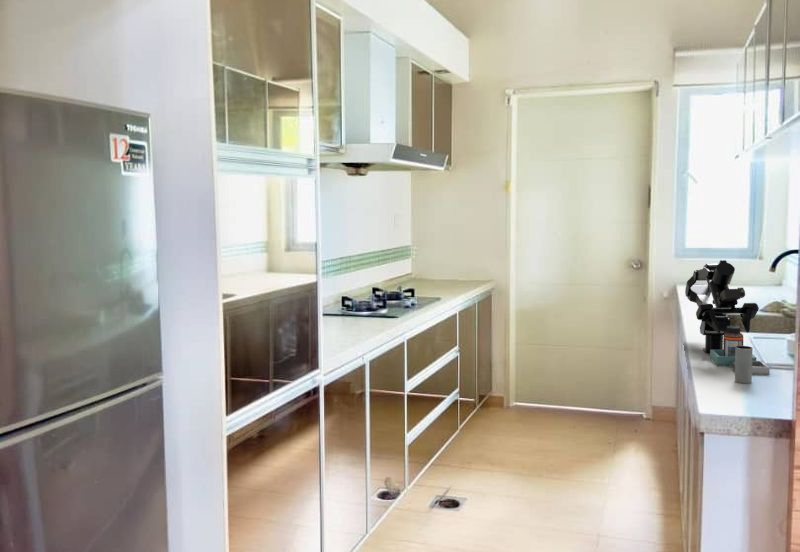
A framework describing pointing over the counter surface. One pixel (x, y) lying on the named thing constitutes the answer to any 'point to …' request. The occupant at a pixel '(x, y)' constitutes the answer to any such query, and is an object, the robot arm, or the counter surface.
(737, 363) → the grey hollow cylinder
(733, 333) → the supplement bottle
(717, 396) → the counter surface
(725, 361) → the bin
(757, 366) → the collar
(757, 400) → the counter surface
